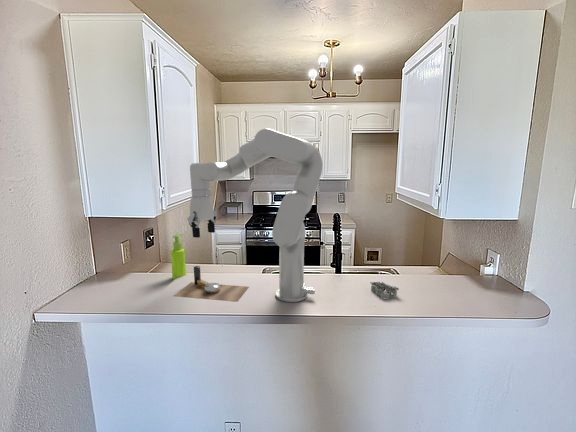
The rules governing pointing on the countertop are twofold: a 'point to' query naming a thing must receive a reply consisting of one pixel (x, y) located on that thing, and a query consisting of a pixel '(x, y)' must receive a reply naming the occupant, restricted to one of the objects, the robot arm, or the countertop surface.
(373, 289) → the rough grey rock
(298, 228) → the robot arm
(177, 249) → the soap dispenser
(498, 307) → the countertop surface
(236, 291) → the brown flat rectangular board
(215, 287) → the ice cream scoop
